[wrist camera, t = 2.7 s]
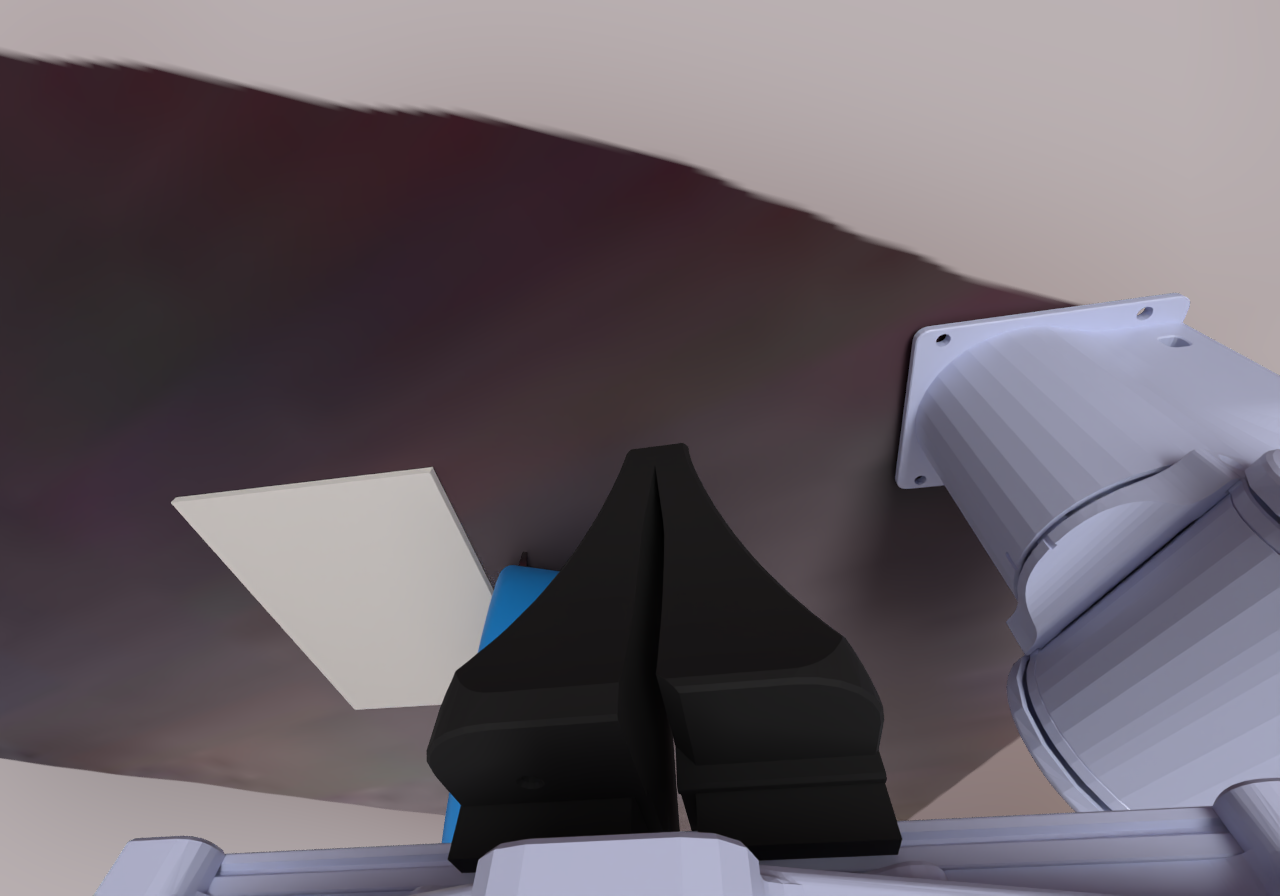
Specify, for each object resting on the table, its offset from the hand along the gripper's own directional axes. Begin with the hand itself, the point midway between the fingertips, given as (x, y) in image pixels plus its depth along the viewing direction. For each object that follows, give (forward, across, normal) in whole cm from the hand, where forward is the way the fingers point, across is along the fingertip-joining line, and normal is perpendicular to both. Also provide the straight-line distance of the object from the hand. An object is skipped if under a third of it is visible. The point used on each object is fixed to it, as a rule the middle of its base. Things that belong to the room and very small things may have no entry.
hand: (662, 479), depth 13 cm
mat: (+11, +19, +16) cm, 27 cm away
